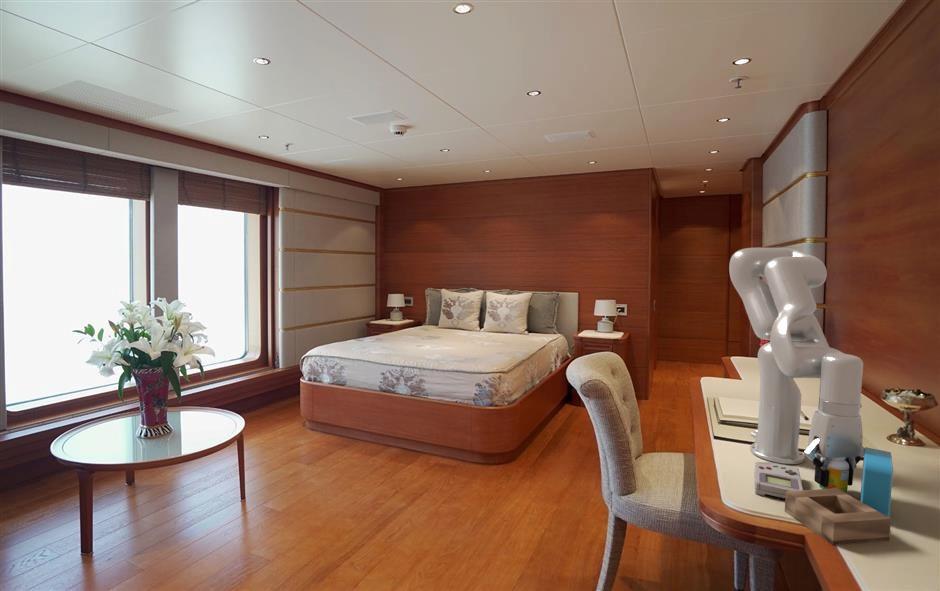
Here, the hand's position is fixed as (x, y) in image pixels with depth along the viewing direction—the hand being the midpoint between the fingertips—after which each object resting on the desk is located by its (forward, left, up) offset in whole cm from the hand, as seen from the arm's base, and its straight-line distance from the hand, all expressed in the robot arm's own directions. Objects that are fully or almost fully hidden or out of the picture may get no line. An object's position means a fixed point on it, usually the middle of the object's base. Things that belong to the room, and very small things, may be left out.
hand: (833, 482), depth 112 cm
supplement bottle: (0, 0, -2) cm, 2 cm away
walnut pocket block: (+13, -12, -2) cm, 18 cm away
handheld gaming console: (-4, -11, -3) cm, 12 cm away
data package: (+8, +2, -2) cm, 9 cm away
